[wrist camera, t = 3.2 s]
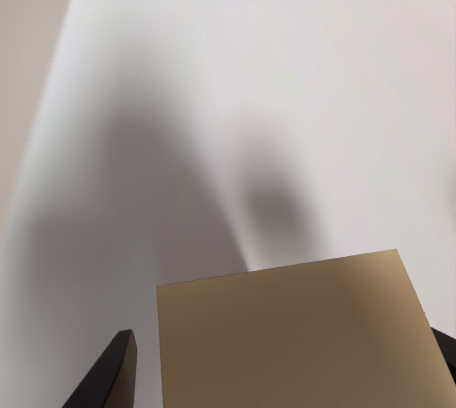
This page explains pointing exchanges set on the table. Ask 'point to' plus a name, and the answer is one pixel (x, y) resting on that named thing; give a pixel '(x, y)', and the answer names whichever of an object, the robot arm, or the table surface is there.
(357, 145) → the table surface
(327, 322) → the tall oak block
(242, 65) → the table surface
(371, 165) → the table surface
